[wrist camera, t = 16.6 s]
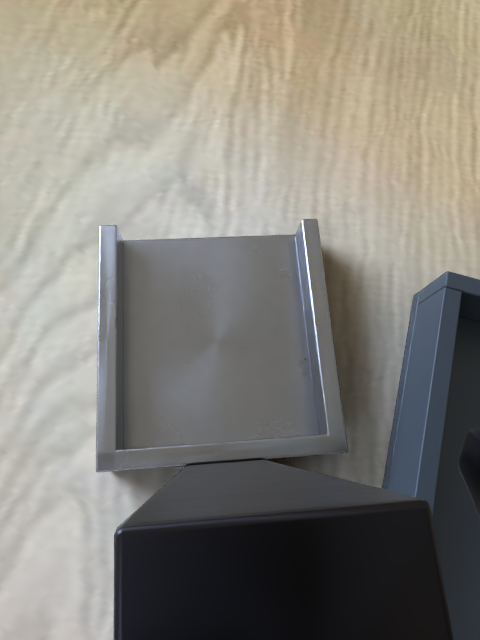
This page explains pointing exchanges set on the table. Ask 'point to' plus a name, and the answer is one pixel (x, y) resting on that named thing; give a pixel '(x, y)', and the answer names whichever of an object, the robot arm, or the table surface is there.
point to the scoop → (245, 454)
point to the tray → (442, 433)
